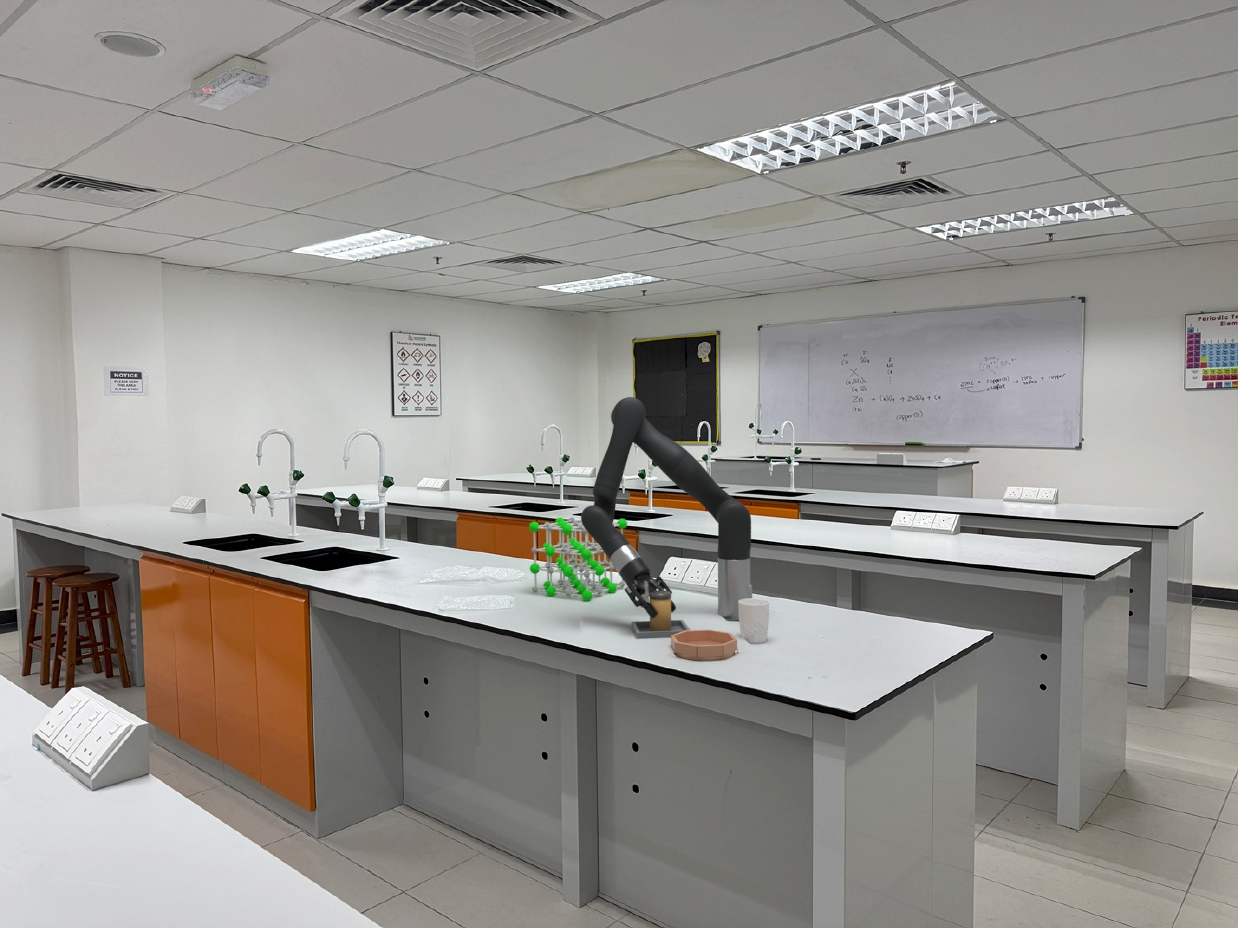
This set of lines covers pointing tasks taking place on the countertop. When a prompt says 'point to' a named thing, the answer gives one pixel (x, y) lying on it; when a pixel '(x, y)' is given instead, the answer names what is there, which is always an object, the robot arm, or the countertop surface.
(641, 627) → the parts tray
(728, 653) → the terracotta bowl
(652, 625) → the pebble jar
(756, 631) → the white cup
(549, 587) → the molecular structure model
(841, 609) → the countertop surface
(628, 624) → the countertop surface
